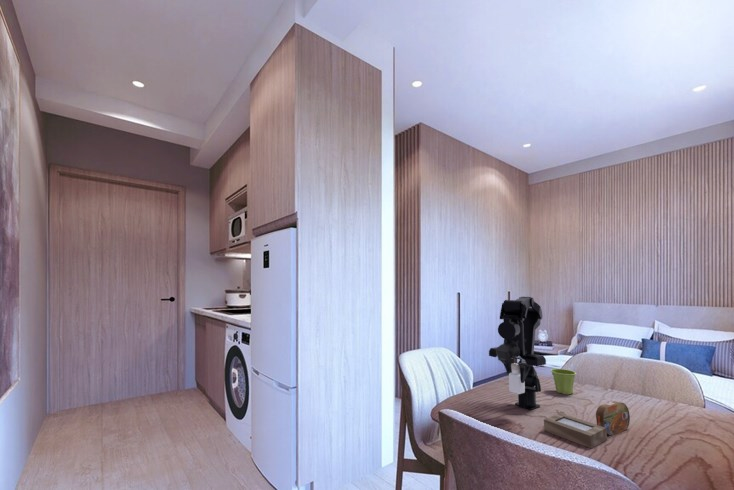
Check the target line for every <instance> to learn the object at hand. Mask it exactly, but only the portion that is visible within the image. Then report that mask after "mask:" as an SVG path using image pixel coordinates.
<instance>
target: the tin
mask: <svg viewBox="0 0 734 490" xmlns="http://www.w3.org/2000/svg"><path fill="white" fill-rule="evenodd" d="M630 417H631V416H630V411H629V407H628V406H627V404H626V403H624V402H623V401H621V402H619V401H615V400H614V401H610V402H606V403H603V404H600V405H599V406H598V407H597V409H596V412H595V419H596V425H599V426H602V427H605V428H606V430H607V435H609V436H614V435H617V434H619V433H621V432H625V431H626V430H628V428H629V426H630V421H631V419H630Z"/></svg>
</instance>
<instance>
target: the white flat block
mask: <svg viewBox="0 0 734 490" xmlns="http://www.w3.org/2000/svg"><path fill="white" fill-rule="evenodd" d="M558 422H561V423H564V424H567V425H569V426H572V427H575V428H578V429H581V430H584V431H587V430H589V429H591V428H593V427H590V426H586V425H583V424H580V423H577V422H574V421H571V420H568V419H565V418H563V419H561V420H559V421H558Z"/></svg>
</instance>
